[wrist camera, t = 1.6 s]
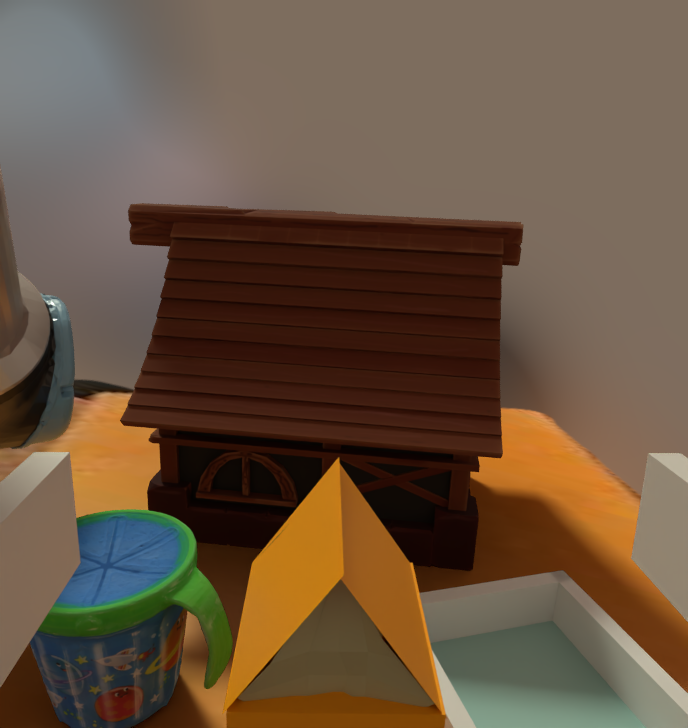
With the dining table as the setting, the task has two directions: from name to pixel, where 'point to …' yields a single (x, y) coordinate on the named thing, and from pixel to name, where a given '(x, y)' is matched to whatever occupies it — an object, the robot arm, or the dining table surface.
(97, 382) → the dining table surface
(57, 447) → the dining table surface
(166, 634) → the snack cup
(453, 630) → the tray
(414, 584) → the orange juice
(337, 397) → the house
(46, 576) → the robot arm
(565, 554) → the dining table surface
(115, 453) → the dining table surface
